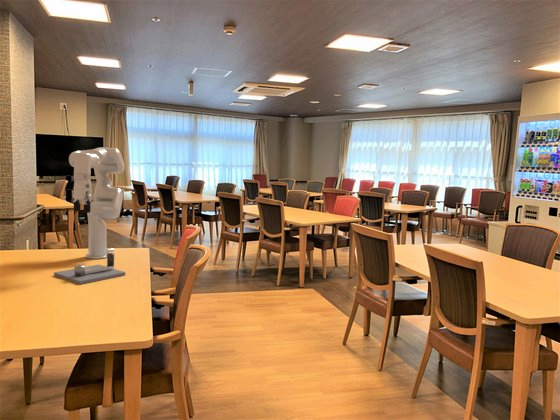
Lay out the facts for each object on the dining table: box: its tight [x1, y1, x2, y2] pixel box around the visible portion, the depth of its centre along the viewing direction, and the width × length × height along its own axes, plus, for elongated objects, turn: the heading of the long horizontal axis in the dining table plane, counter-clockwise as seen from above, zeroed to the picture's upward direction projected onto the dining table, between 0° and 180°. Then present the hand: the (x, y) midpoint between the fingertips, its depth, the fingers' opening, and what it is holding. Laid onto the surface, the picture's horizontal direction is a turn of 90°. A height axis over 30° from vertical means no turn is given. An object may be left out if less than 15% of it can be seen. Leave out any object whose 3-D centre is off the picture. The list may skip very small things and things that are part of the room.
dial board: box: [53, 264, 126, 285], centre depth 206 cm, size 23×22×2 cm
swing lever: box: [74, 252, 115, 276], centre depth 205 cm, size 20×4×8 cm, turn 145°
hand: (81, 211), depth 216 cm, fingers open, 9 cm apart
